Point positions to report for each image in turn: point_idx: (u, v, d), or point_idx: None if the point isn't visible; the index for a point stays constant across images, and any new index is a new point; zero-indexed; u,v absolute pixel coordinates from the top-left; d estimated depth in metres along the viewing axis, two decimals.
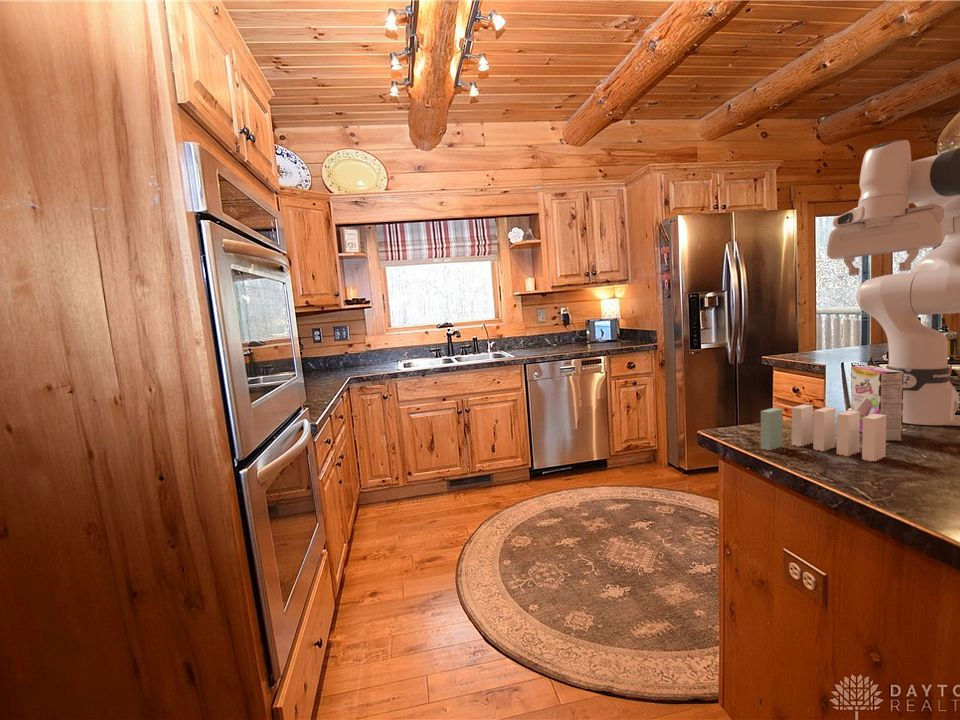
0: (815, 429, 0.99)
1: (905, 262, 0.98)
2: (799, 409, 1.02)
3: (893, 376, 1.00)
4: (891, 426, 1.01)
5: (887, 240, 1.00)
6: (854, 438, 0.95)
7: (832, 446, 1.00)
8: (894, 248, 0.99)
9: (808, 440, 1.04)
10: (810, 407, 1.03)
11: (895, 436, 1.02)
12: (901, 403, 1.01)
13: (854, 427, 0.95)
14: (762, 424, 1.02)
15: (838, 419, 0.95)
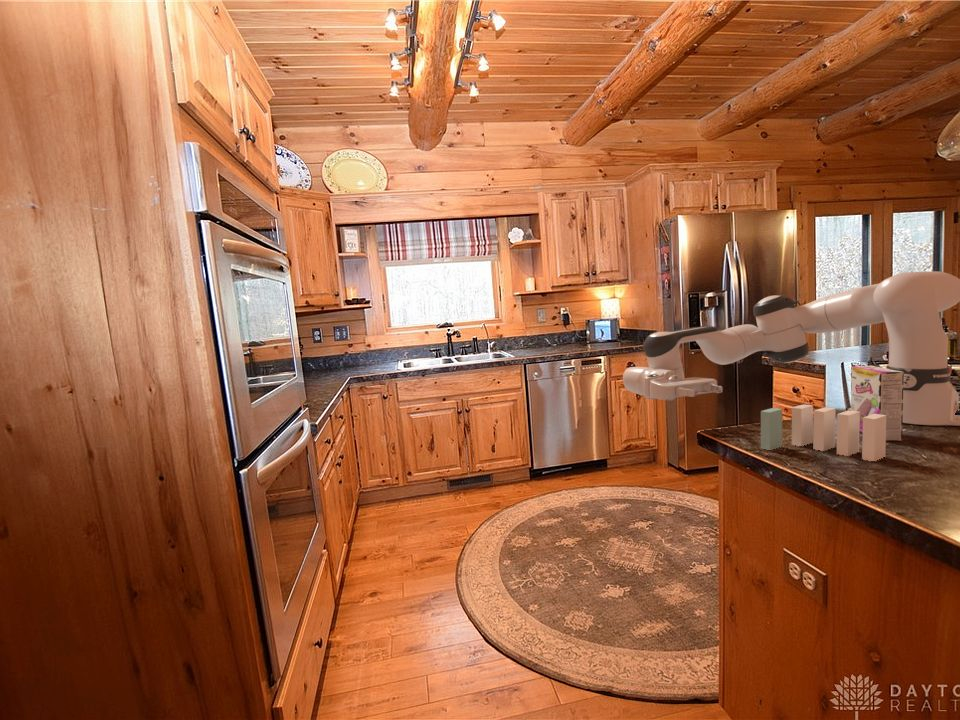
0: (816, 429, 0.99)
1: (715, 385, 1.20)
2: (799, 409, 1.02)
3: (893, 376, 1.00)
4: (891, 426, 1.01)
5: (691, 381, 1.23)
6: (854, 438, 0.95)
7: (832, 446, 1.00)
8: (700, 381, 1.22)
9: (808, 440, 1.04)
10: (810, 407, 1.03)
11: (895, 436, 1.02)
12: (901, 403, 1.01)
13: (854, 427, 0.95)
14: (762, 424, 1.02)
15: (838, 419, 0.95)
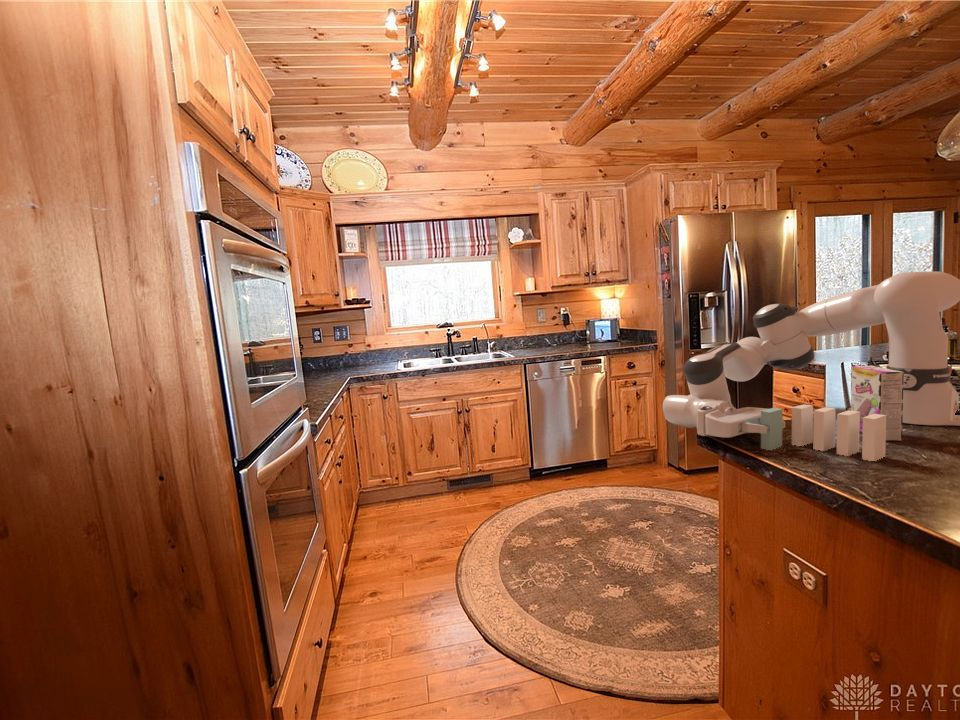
0: (816, 429, 0.99)
1: None
2: (799, 409, 1.02)
3: (893, 376, 1.00)
4: (891, 426, 1.01)
5: (750, 413, 1.08)
6: (854, 438, 0.95)
7: (832, 446, 1.00)
8: None
9: (808, 440, 1.04)
10: (810, 407, 1.03)
11: (895, 436, 1.02)
12: (901, 403, 1.01)
13: (854, 427, 0.95)
14: None
15: (838, 419, 0.95)
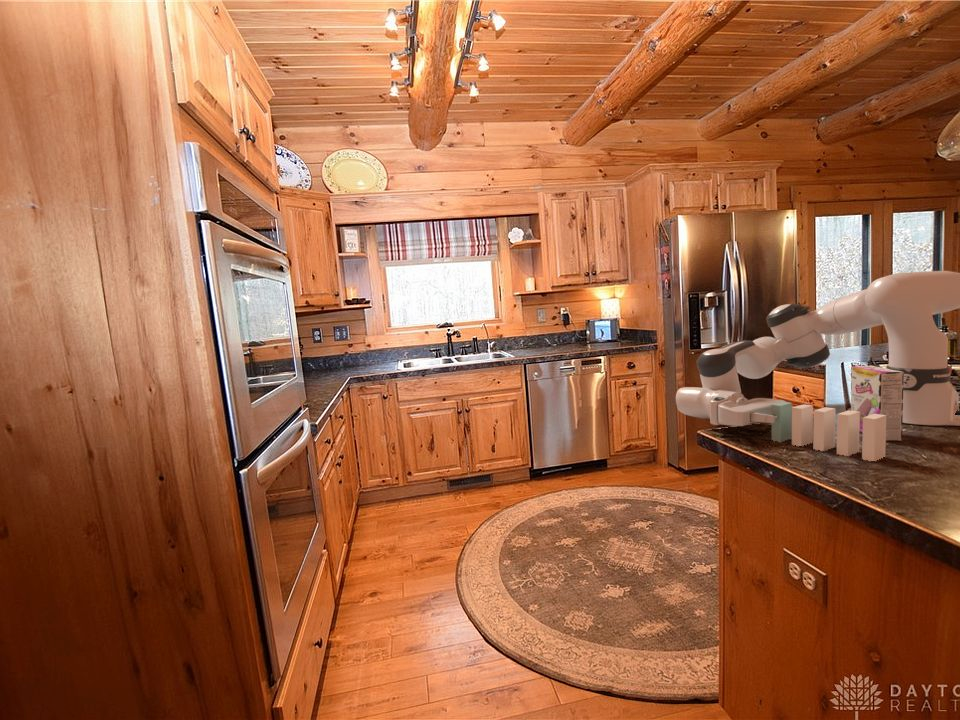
0: (816, 429, 0.99)
1: None
2: (799, 409, 1.02)
3: (893, 376, 1.00)
4: (891, 426, 1.01)
5: (761, 403, 1.14)
6: (854, 438, 0.95)
7: (832, 446, 1.00)
8: None
9: (808, 440, 1.04)
10: (810, 407, 1.03)
11: (895, 436, 1.02)
12: (901, 403, 1.01)
13: (854, 427, 0.95)
14: None
15: (838, 419, 0.95)
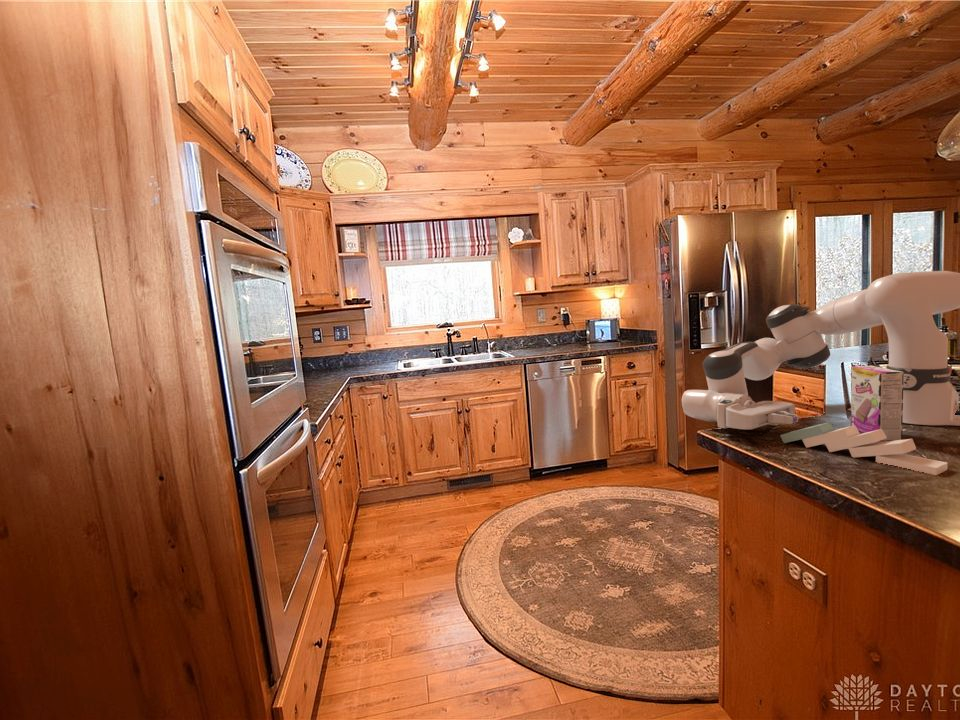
0: (849, 440, 0.94)
1: (789, 414, 1.07)
2: (846, 436, 0.94)
3: (893, 376, 1.00)
4: (891, 426, 1.01)
5: (769, 406, 1.12)
6: None
7: None
8: (780, 407, 1.11)
9: None
10: (856, 434, 0.96)
11: (895, 436, 1.02)
12: (901, 403, 1.01)
13: None
14: (805, 430, 1.01)
15: (893, 445, 0.87)
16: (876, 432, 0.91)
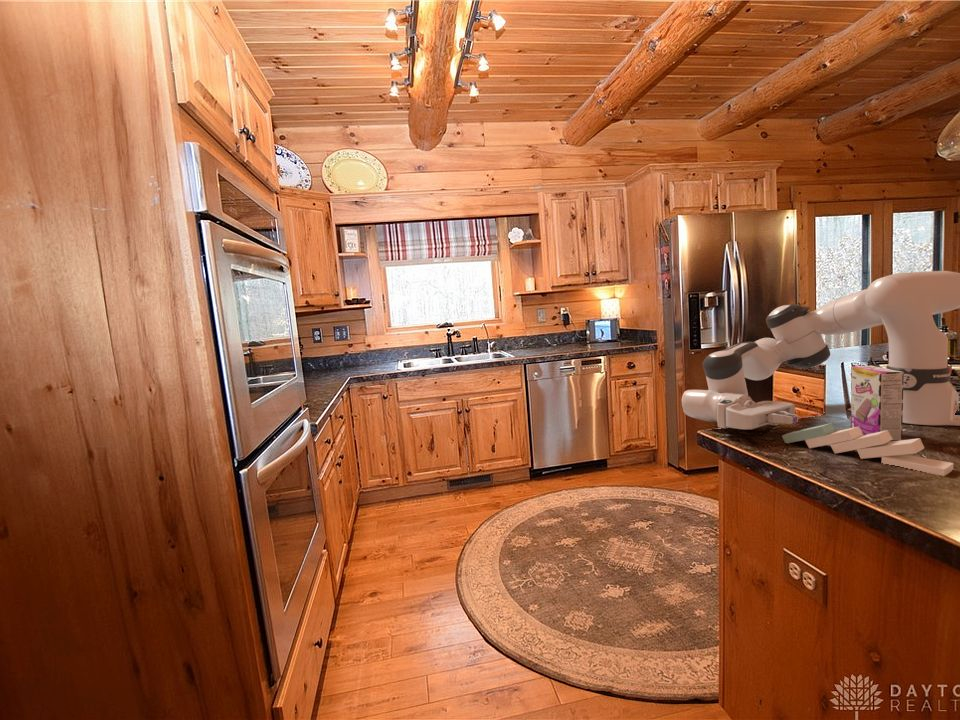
0: (855, 441, 0.93)
1: (789, 414, 1.07)
2: (850, 438, 0.94)
3: (893, 376, 1.00)
4: (891, 426, 1.01)
5: (769, 406, 1.12)
6: None
7: None
8: (780, 407, 1.11)
9: None
10: (859, 436, 0.95)
11: (895, 436, 1.02)
12: (901, 403, 1.01)
13: None
14: (807, 431, 1.01)
15: (904, 445, 0.86)
16: (883, 433, 0.91)
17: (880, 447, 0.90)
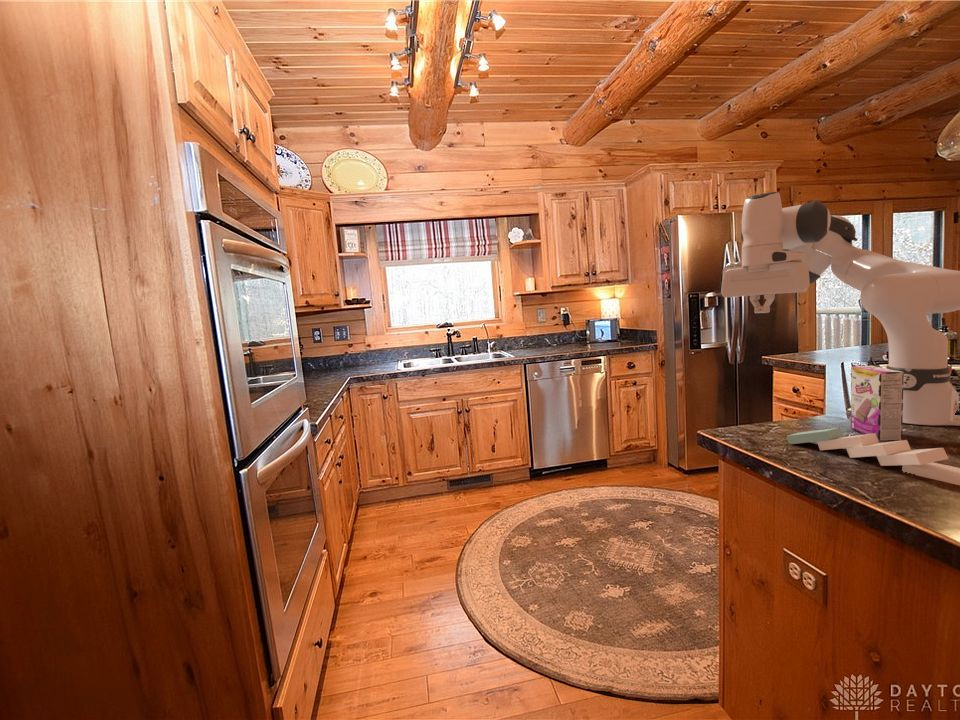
0: (865, 448, 0.89)
1: None
2: (861, 444, 0.91)
3: (893, 376, 1.00)
4: (891, 426, 1.01)
5: None
6: None
7: None
8: None
9: None
10: (874, 443, 0.92)
11: (895, 436, 1.02)
12: (901, 403, 1.01)
13: None
14: (812, 434, 1.00)
15: (910, 455, 0.80)
16: (894, 444, 0.85)
17: (893, 455, 0.84)
